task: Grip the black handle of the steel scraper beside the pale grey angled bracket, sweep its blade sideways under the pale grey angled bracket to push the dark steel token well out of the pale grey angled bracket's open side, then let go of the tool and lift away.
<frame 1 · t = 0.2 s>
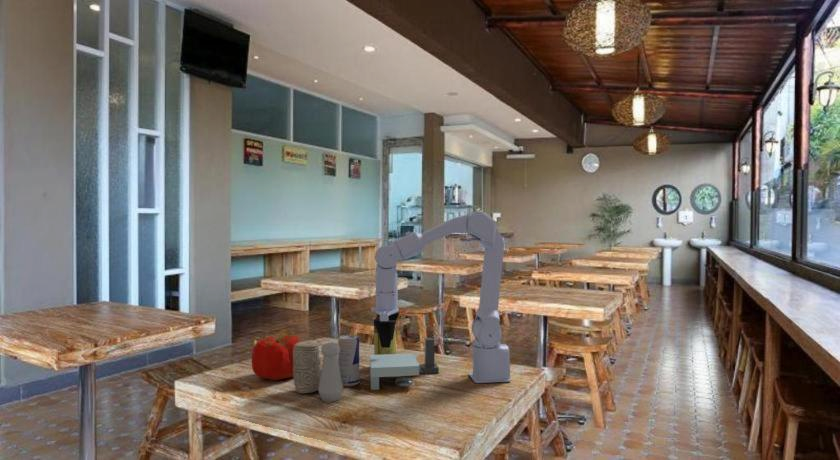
hand: (387, 343, 131), 10 cm above the table, fingers open, 7 cm apart
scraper: (429, 371, 140), on the table
salt shaker: (330, 399, 119), on the table
token: (404, 385, 129), on the table
energy drink: (349, 384, 130), on the table
sauce bottle: (385, 367, 144), on the table
pale grey angled bracket: (393, 381, 131), on the table
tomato: (278, 377, 136), on the table
carving: (307, 392, 124), on the table
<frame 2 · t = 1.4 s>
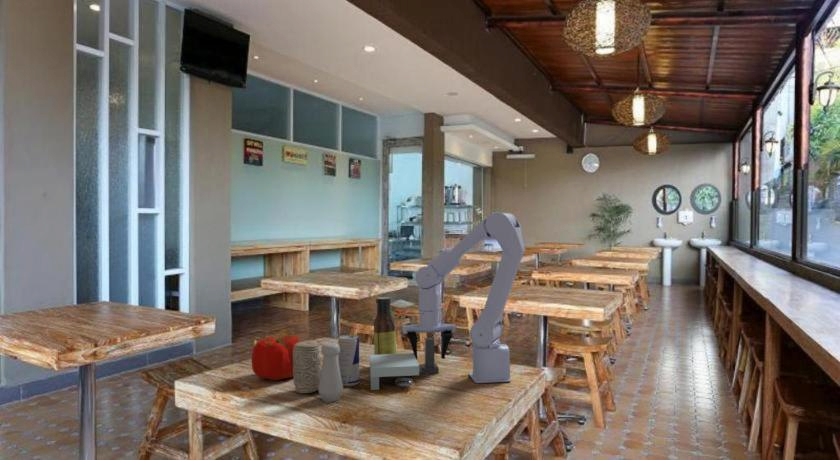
hand: (429, 358, 140), 4 cm above the table, fingers open, 7 cm apart
nothing on the table moved.
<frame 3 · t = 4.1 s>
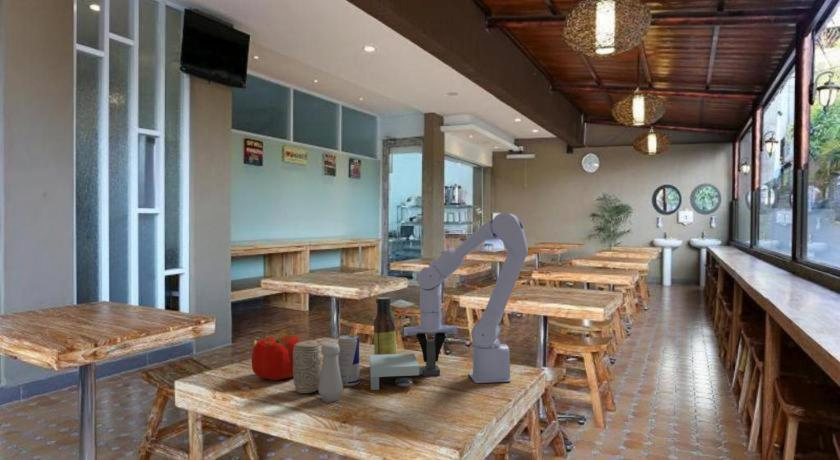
hand: (430, 360, 138), 3 cm above the table, fingers closed on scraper, 2 cm apart
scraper: (430, 373, 138), on the table, touching gripper
everything else where it was.
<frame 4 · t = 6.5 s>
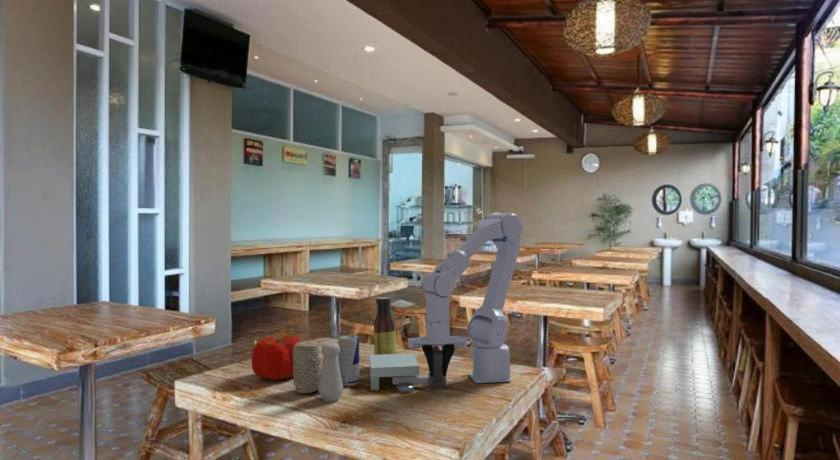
hand: (437, 375, 125), 4 cm above the table, fingers closed on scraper, 2 cm apart
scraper: (437, 383, 127), point 1 cm above the table, tilted 18°, touching gripper
token: (405, 390, 124), on the table
everything else where it was.
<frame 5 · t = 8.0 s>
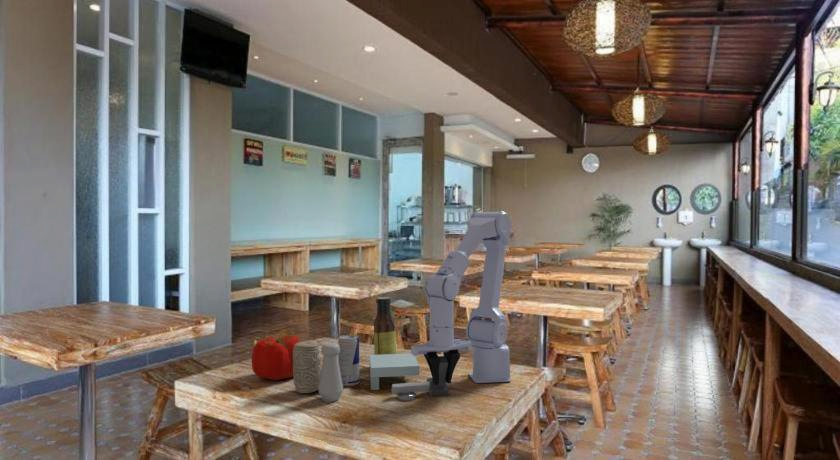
hand: (441, 382, 119), 4 cm above the table, fingers closed on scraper, 2 cm apart
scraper: (437, 388, 123), point 1 cm above the table, tilted 25°, touching gripper, token
token: (406, 399, 119), on the table, touching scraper
everything else where it was.
when the fingers open (3 cm above the table, at t = 9.4 s): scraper stays where it is, on the table.
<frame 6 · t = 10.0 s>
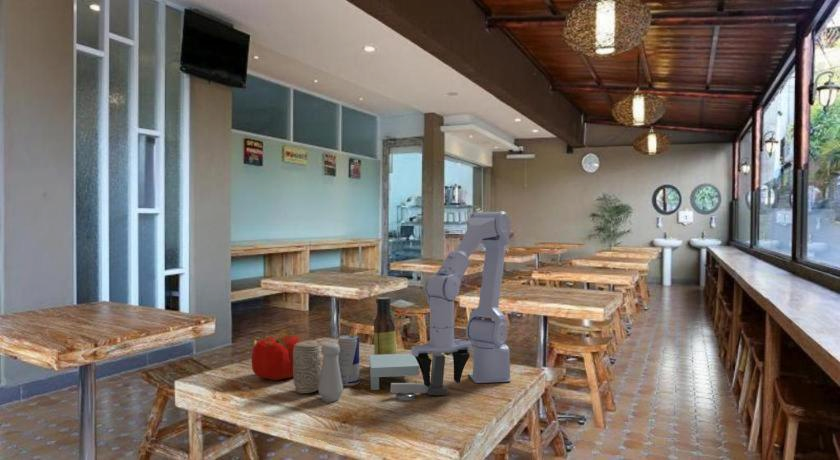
hand: (442, 383, 119), 4 cm above the table, fingers open, 7 cm apart
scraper: (435, 392, 122), on the table, tilted 6°
token: (405, 399, 119), on the table
everything else where it was.
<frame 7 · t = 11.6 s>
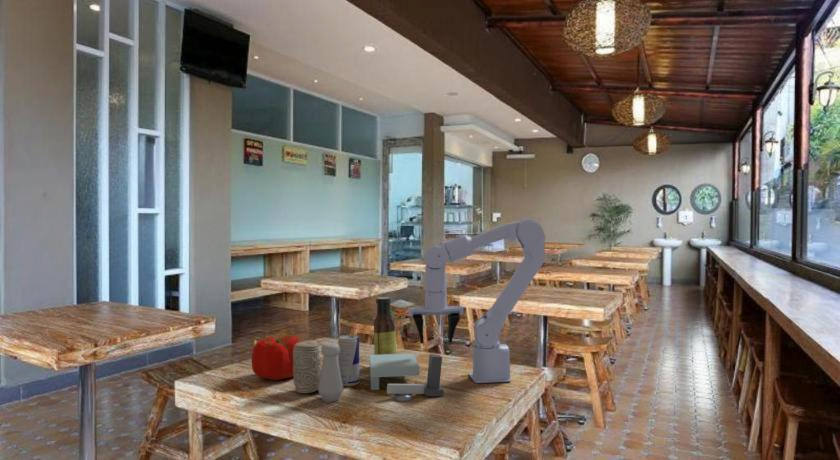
hand: (435, 342, 135), 9 cm above the table, fingers open, 7 cm apart
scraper: (432, 393, 122), on the table, tilted 6°, touching token
token: (403, 400, 119), on the table, touching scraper
everything else where it was.
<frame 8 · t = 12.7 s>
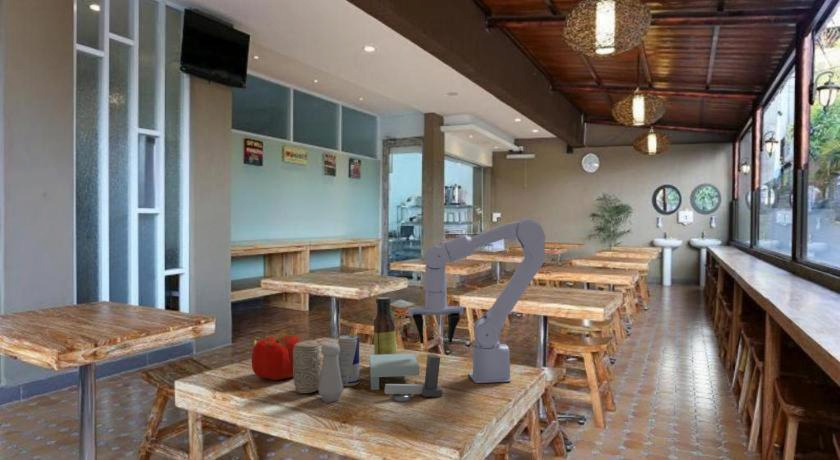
hand: (435, 342, 135), 9 cm above the table, fingers open, 7 cm apart
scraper: (430, 393, 121), on the table, tilted 6°
token: (401, 400, 119), on the table
everything else where it was.
at the end: token inside the target area (2.7 cm from its centre), on the table; the gripper is holding nothing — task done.
